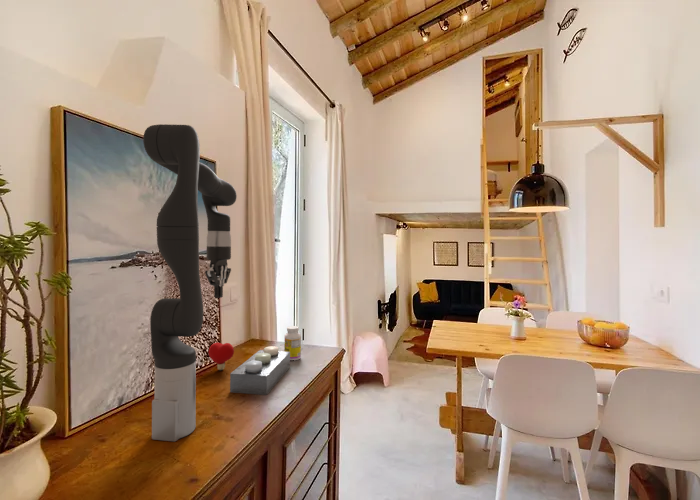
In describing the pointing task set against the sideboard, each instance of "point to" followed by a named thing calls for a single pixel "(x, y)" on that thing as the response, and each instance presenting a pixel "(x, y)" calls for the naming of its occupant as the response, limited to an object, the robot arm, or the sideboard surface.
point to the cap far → (271, 350)
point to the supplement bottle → (293, 342)
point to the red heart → (221, 353)
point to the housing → (260, 375)
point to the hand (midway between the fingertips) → (218, 297)
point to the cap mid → (263, 358)
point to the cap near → (253, 366)
